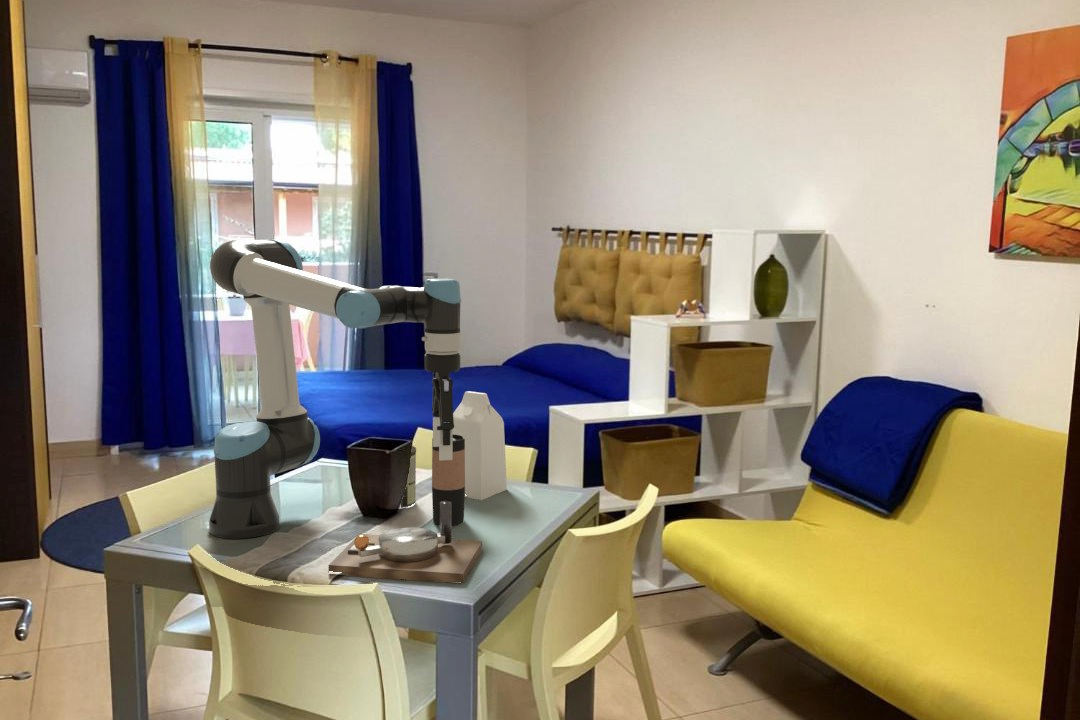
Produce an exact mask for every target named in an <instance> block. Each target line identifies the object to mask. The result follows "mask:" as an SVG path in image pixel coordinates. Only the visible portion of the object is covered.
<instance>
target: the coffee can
mask: <svg viewBox="0 0 1080 720" xmlns="http://www.w3.org/2000/svg"><path fill="white" fill-rule="evenodd" d="M411 446H412V449H411V458H410V468H409V474H408V480H407V485H406V489H405V492H404V496H403V499H402V501H401V508H403V507H408V506H411V505H412V504H414V503H415V502H416V501H417V500H416V498H417V497H416V495H417V494H416V493H417V492H416V489H417V487H416V484H417V483H416V481H417V480H416V479H417V478H416V476H417V470H416V468H417V467H416V464H417V462H416V461H417V460H416V459H417V456H416V455H417V454H416V453H417V448H416V447H415V446H413V445H411ZM416 503H417V502H416Z"/></svg>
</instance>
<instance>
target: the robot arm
mask: <svg viewBox="0 0 1080 720" xmlns="http://www.w3.org/2000/svg"><path fill="white" fill-rule="evenodd" d="M210 258H211V259H210V262H209V270H210V274H211V277H212V279H213V281H214V282H215V284H216V285H218V287H221V288H222V289H223V290H225V291H227V292H231V293H234V294H237V295H241V296H243V301H244V302H246V303H247V304H248V305H249V306H250V308H251V316H252V324H253V335H254V344H255V354H256V363H257V365H256V366H257V371H258V382H259V392H260V401H261V409H260V411H259V412H258V413H257V414H256V420H255V421H252V420H251V421H243V422H236V423H233V424H229V425H226V426H224V427H222V428H220V430H218V431H217V433H216V434H215V437H214V448H213V454H214V471H215V472H214V473H215V493H216V495H215V500H214V504H213V507H212V510H211V515H210V517H209V521H208V531H209V533H210V534H211V535H212V536H214V537H217V538H222V539H233V540H234V539H237V540H240V539H249V538H257V537H261V536H265V535H269V534H272V533H273V532H275V531H277V530H278V529H279V528H280V515H279V512H278V510H277V507H276V504H275V502H274V499H273V496H272V494H271V477H272V476H274V475H276V474H277V475H278V474H280V473H284V472H286V471H288V470H289V471H290V470H292V469H293V470H295V469H297V468H300V467H302V466H303V465H305V464H308V463H309V462H310V461H312V460H313V458H315V456H316V455H317V453H318V451H319V449H320V443H321V435H320V430H319V428H318V426H317V425H316V424H315V422H314V421H313V419H312V418H310V417H309V416H308V409H306V408H305V407H304V406H303V405H301V403H300V397H299V395H300V394H299V385H298V373H297V367H296V356H295V347H294V346H295V345H294V335H293V326H292V317H291V306H295V307H298V308H301V309H305V310H307V311H310V312H314V313H318V314H321V315H324V316H326V317H327V316H328V317H331V318H335V319H338V320H339V322H341V323H342V324H343V326H345V327H346V328H349V329H367V328H371V327H376V326H382V325H390V324H397V323H419V324H420V323H421V324H422V323H423V324H424V336H422V337H421V341H423V342H424V350H425V351H426V353H425V354H424V370H425V371H426V372H429V373H432V376H433V377H432V381H431V383H432V401H431V406H432V407H431V412H432V438H433V447H439V460H453V429H454V419H453V413H454V401H453V400H454V399H453V396H454V395H453V387H454V382H453V379H452V378H451V377H450V373H454V372H458V371H460V370H461V354H460V353H459V352H460V351H461V349H462V348H461V347H462V345H461V343H462V342H461V335H462V332H461V303H462V299H461V298H462V297H461V285H460V282H459V281H458V280H457V279H455V278H427V279H425V281H424V285H423V287H422V286H421V287H415V286H401V285H398V284H394V285H383V286H380V287H379V288H364V287H360V286H357V285H353V284H352V283H351V284H350V283H347V282H343V281H340V280H336V279H333V278H331V277H330V278H329V277H326V276H322V275H319V274H315V273H312V272H307V271H305V270H304V267H303V261H302V258H301V256H300V254H299V252H298V251H297V249H295V248H294V247H293V245H291V244H290V243H289V242H286V241H284V240H280V239H273V238H271V239H270V238H266V239H233V240H229V241H226V242H224V243H222V244H220V246H218V247H216V249H215V250H214V252H213V253H212V255H211V257H210ZM448 422H449V423H448Z"/></svg>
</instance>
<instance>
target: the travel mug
mask: <svg viewBox="0 0 1080 720" xmlns="http://www.w3.org/2000/svg"><path fill="white" fill-rule="evenodd" d="M431 440H432V441H431V444H432V447H431V454H432V455H431V498H432V499H431V500H432V522H433V524H434V523H435V525H436V526H439V525H440V502H442V501H450V502H451V527H455V526H460V525H461V524H463V523H464V520H465V518H464V517H465V501H466V500H465V499H466V497H465V439H463V437H462V436H460V435H453V460H439V447H433V437H432V439H431Z"/></svg>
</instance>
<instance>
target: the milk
mask: <svg viewBox="0 0 1080 720" xmlns="http://www.w3.org/2000/svg"><path fill="white" fill-rule="evenodd" d="M453 419H454V429H453V435H460V436H462V437H463V439H465V494H466V495H467V496H468V497H467V498H469V497H471V498H470V499H473V498H474V499H475V500H478V499H479V501H482V499H483V500H485V499H488V498H490V497H492V496H495V495H496V494H500V493H502V492H504V491H507V490H508V488H507V485H508V482H507V465H506V443H505V440H506V439H505V422H504V419H503V417H502V416H501V415H500V414H499V412H497V410H496V409H495V408H494V407H493V406H492V405H491V403H490V399H489V397H488V394H487V393H485V392H477V391H470V390H468V391H464V393H463V396H462V400H461V402H460V403H459V405H458V406H457V407H456V409H455V410H454V411H453ZM447 423H449V422H447Z"/></svg>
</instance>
